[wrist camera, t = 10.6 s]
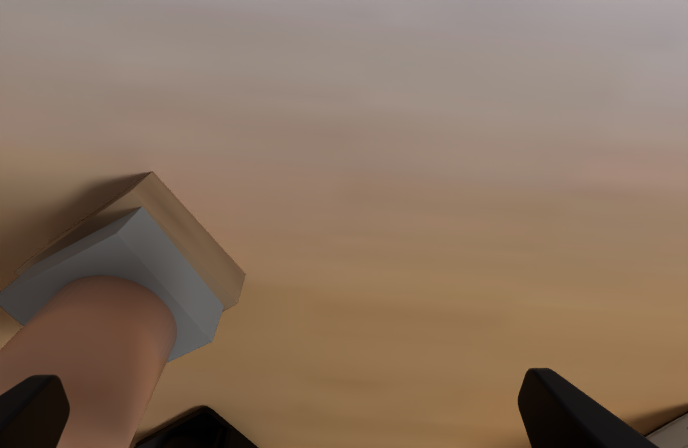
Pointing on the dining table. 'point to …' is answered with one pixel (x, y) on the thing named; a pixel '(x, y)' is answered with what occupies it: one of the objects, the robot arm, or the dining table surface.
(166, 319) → the terracotta cylinder
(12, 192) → the dining table surface
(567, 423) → the robot arm
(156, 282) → the grey block
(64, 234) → the walnut block
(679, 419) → the skincare box
